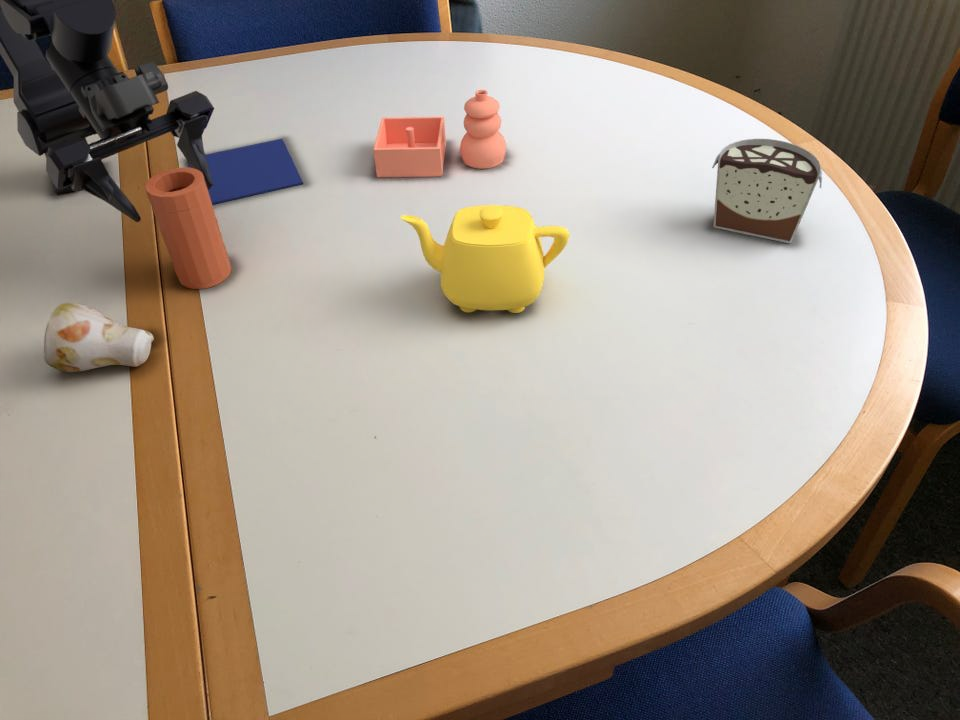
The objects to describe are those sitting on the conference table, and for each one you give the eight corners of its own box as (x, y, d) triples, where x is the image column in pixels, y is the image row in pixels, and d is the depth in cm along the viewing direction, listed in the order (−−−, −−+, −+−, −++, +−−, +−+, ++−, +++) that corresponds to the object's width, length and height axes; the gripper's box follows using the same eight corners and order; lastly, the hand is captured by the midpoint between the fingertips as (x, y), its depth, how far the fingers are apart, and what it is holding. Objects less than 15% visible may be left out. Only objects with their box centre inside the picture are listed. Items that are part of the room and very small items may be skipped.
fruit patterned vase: (155, 384, 82) (70, 334, 75) (94, 402, 86) (9, 357, 79) (174, 324, 86) (96, 272, 79) (115, 345, 90) (36, 297, 83)
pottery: (377, 177, 110) (367, 110, 104) (385, 144, 117) (376, 79, 111) (506, 175, 110) (505, 108, 103) (506, 142, 117) (505, 77, 110)
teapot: (403, 322, 87) (392, 241, 80) (415, 262, 95) (406, 184, 88) (567, 324, 86) (571, 242, 79) (565, 264, 94) (569, 184, 87)
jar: (176, 265, 97) (142, 174, 88) (227, 253, 98) (199, 162, 90) (182, 294, 92) (147, 201, 84) (235, 281, 94) (207, 188, 85)
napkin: (187, 160, 116) (187, 158, 116) (282, 140, 119) (282, 138, 119) (200, 207, 106) (200, 205, 106) (303, 183, 110) (302, 182, 110)
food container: (811, 220, 99) (833, 147, 92) (803, 246, 95) (825, 172, 88) (712, 200, 103) (726, 129, 96) (701, 224, 99) (714, 152, 92)
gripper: (10, 73, 77) (104, 212, 78) (180, 18, 86) (262, 142, 88) (12, 125, 86) (96, 248, 88) (166, 70, 96) (239, 181, 97)
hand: (176, 203), depth 90 cm, fingers open, 9 cm apart
